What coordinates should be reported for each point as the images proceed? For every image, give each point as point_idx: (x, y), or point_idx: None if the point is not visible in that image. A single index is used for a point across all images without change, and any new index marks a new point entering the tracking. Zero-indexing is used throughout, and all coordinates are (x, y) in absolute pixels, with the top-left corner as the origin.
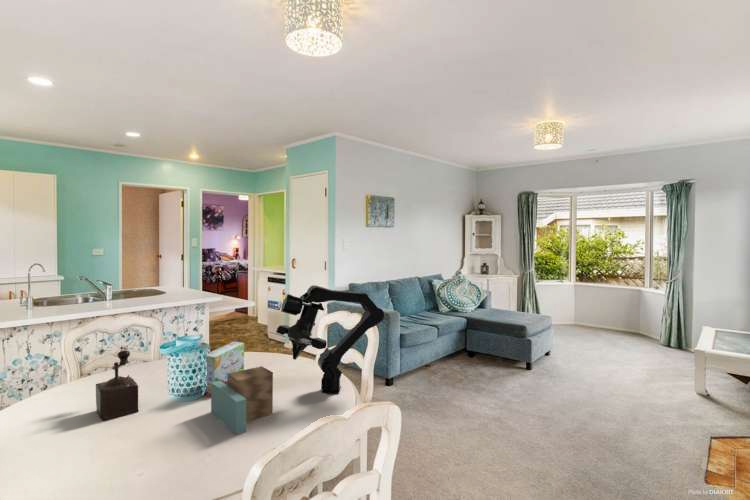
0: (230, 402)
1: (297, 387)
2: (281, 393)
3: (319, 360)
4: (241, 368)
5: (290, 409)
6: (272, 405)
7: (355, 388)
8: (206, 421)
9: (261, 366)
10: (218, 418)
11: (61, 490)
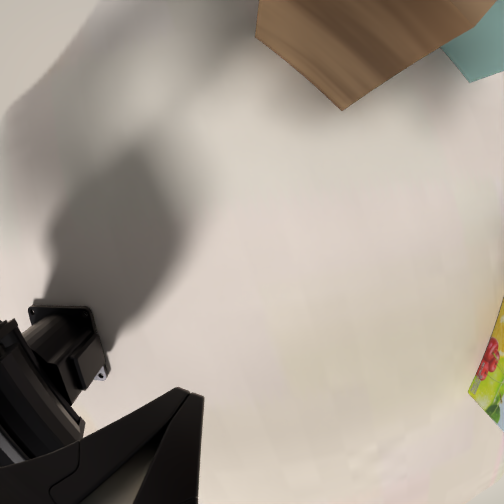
0: None
1: (232, 365)
2: (292, 280)
3: (43, 437)
4: (496, 400)
5: (181, 90)
6: (257, 17)
7: None
8: None
9: (470, 18)
10: None
11: None
